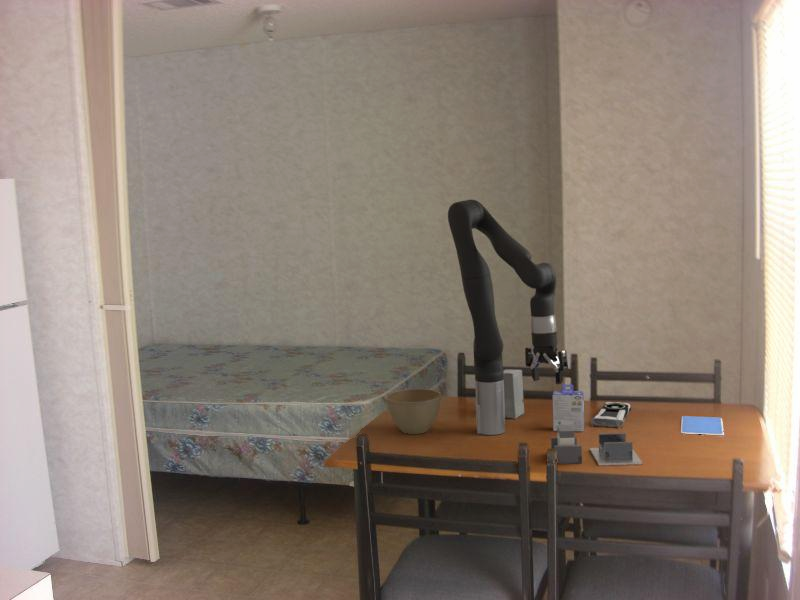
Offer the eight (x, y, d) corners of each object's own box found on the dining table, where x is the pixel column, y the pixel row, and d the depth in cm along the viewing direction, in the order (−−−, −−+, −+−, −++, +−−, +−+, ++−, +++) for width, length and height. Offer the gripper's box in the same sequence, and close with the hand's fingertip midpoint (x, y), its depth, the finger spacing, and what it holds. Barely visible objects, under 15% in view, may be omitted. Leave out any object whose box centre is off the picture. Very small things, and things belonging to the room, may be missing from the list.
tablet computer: (724, 438, 247) (724, 434, 247) (680, 435, 251) (680, 431, 251) (722, 421, 265) (722, 417, 265) (681, 419, 269) (681, 415, 269)
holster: (555, 463, 229) (555, 446, 228) (551, 453, 238) (550, 436, 238) (581, 463, 229) (581, 446, 228) (576, 452, 238) (576, 436, 237)
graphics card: (591, 418, 263) (605, 399, 286) (591, 428, 264) (605, 409, 286) (622, 420, 259) (634, 401, 282) (622, 430, 260) (634, 410, 282)
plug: (560, 461, 231) (560, 431, 229) (557, 455, 237) (557, 425, 235) (574, 461, 230) (574, 430, 229) (571, 454, 236) (571, 425, 235)
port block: (598, 465, 226) (598, 446, 225) (589, 450, 240) (589, 431, 239) (642, 464, 225) (642, 444, 225) (631, 448, 239) (630, 430, 238)
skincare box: (515, 419, 276) (514, 374, 274) (496, 417, 280) (495, 372, 278) (525, 413, 283) (524, 369, 281) (506, 411, 287) (505, 367, 285)
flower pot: (405, 421, 280) (403, 386, 279) (451, 426, 271) (450, 391, 269) (377, 435, 265) (375, 399, 263) (425, 441, 256) (423, 404, 254)
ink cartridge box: (584, 427, 264) (583, 383, 262) (584, 432, 258) (583, 387, 256) (553, 426, 266) (552, 383, 264) (552, 431, 260) (552, 387, 258)
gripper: (517, 330, 246) (521, 382, 248) (555, 333, 236) (559, 387, 238) (533, 326, 251) (536, 376, 253) (570, 329, 240) (574, 382, 243)
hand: (547, 382), depth 246 cm, fingers open, 8 cm apart
